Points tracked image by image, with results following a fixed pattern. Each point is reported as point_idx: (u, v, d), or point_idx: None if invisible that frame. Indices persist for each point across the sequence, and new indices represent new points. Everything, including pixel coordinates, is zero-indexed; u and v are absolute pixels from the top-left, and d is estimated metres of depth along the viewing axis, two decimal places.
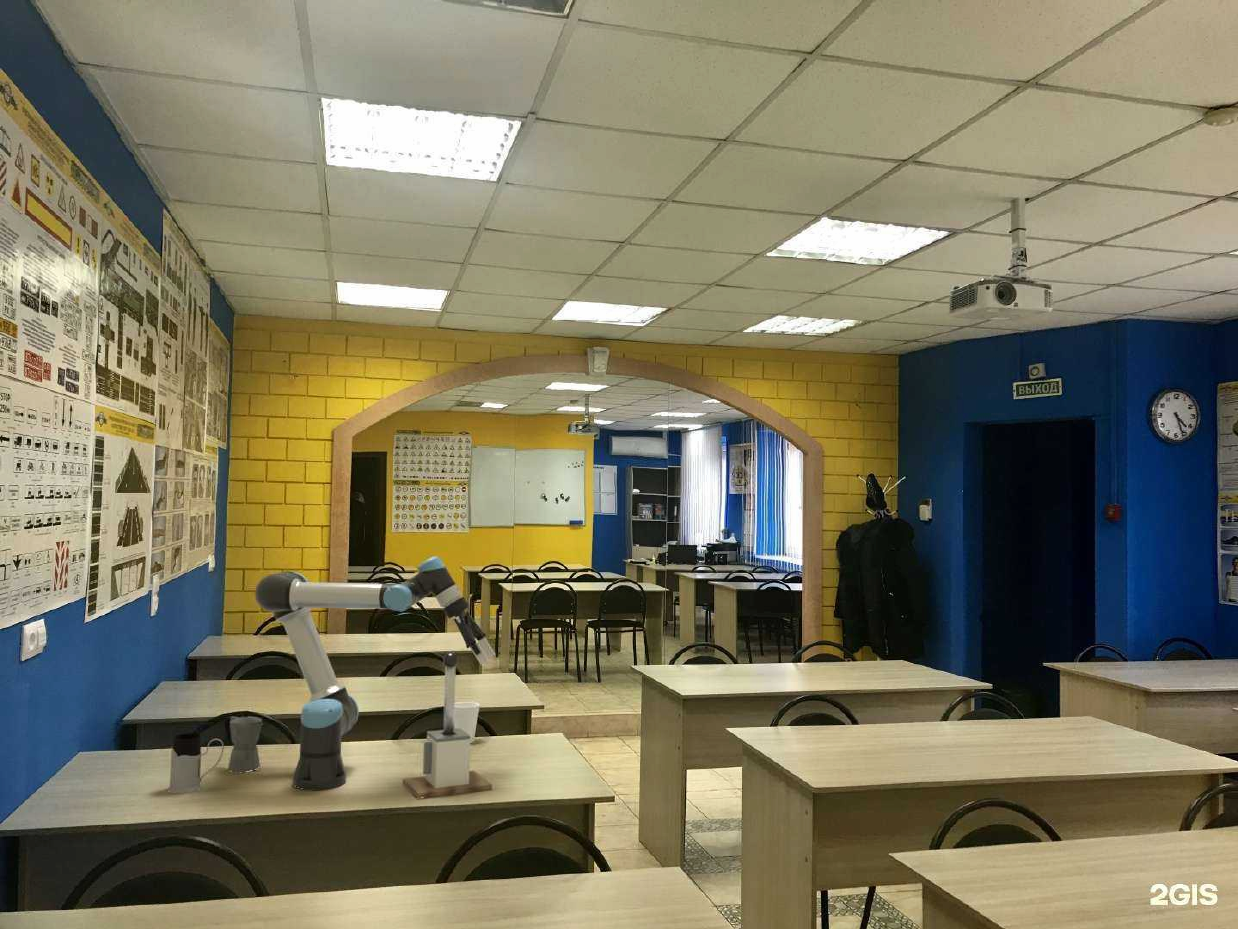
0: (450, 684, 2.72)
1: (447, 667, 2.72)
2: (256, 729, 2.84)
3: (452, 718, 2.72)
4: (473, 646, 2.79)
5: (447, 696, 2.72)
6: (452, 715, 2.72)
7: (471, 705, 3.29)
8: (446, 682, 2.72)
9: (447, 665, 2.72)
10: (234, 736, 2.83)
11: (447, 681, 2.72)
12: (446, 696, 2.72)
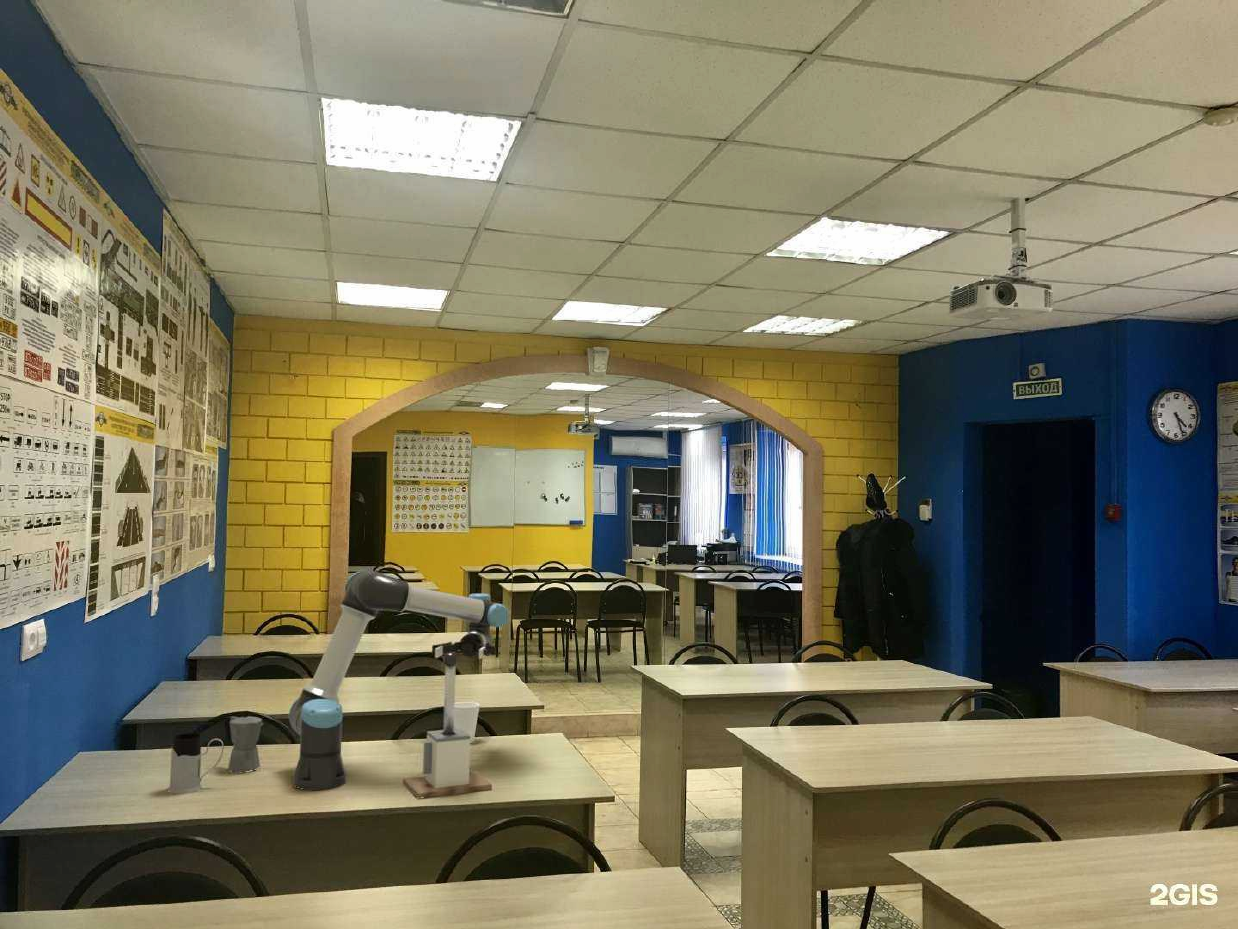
0: (450, 684, 2.72)
1: (447, 667, 2.72)
2: (256, 729, 2.84)
3: (452, 718, 2.72)
4: (488, 651, 2.89)
5: (447, 696, 2.72)
6: (452, 715, 2.72)
7: (471, 705, 3.29)
8: (446, 682, 2.72)
9: (447, 665, 2.72)
10: (234, 736, 2.83)
11: (447, 681, 2.72)
12: (446, 696, 2.72)
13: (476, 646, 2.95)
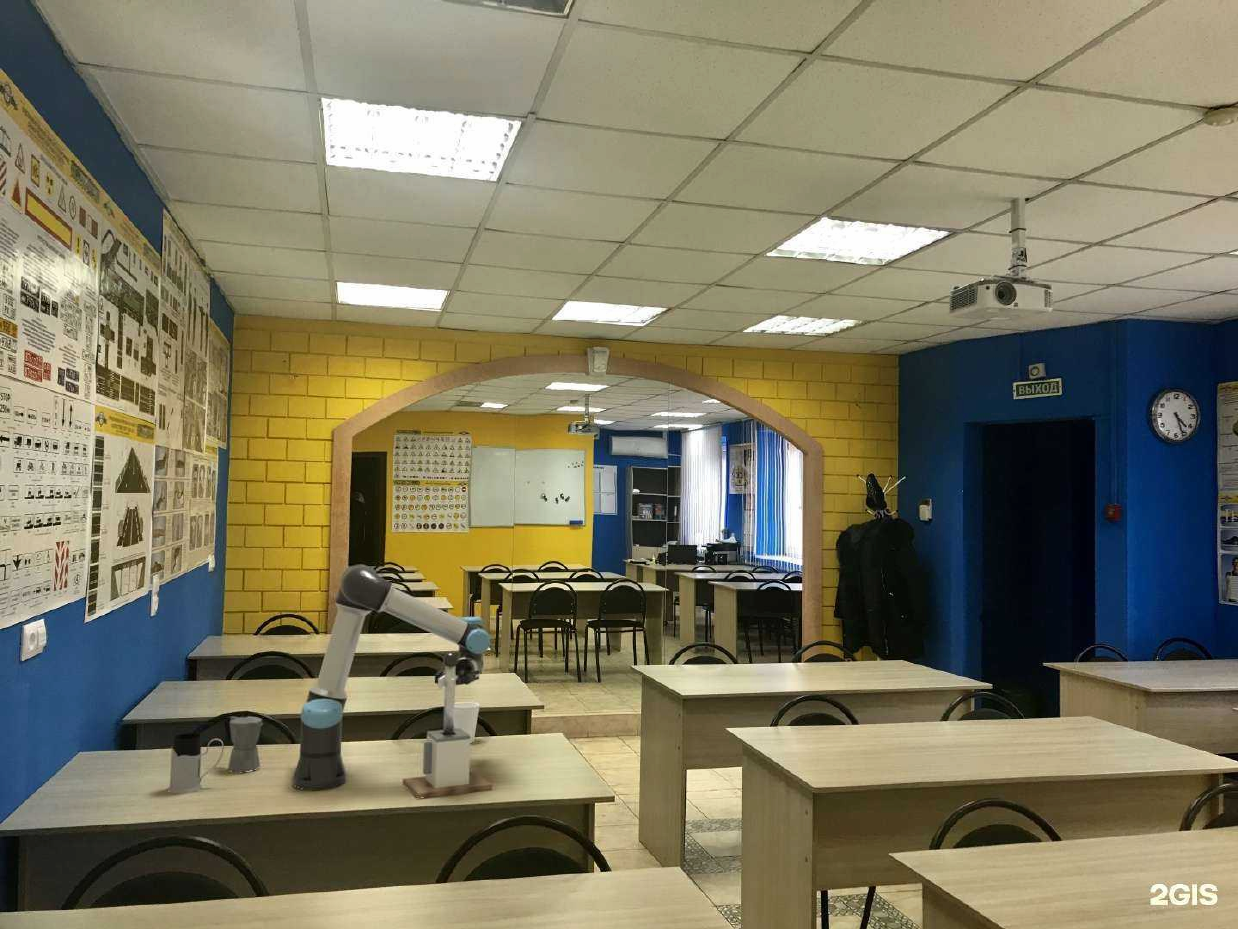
0: (450, 684, 2.72)
1: (447, 667, 2.72)
2: (256, 729, 2.84)
3: (452, 718, 2.72)
4: (461, 680, 2.74)
5: (447, 696, 2.72)
6: (452, 715, 2.72)
7: (471, 705, 3.29)
8: (446, 682, 2.72)
9: (447, 665, 2.72)
10: (234, 736, 2.83)
11: (447, 681, 2.72)
12: (446, 696, 2.72)
13: (460, 674, 2.81)
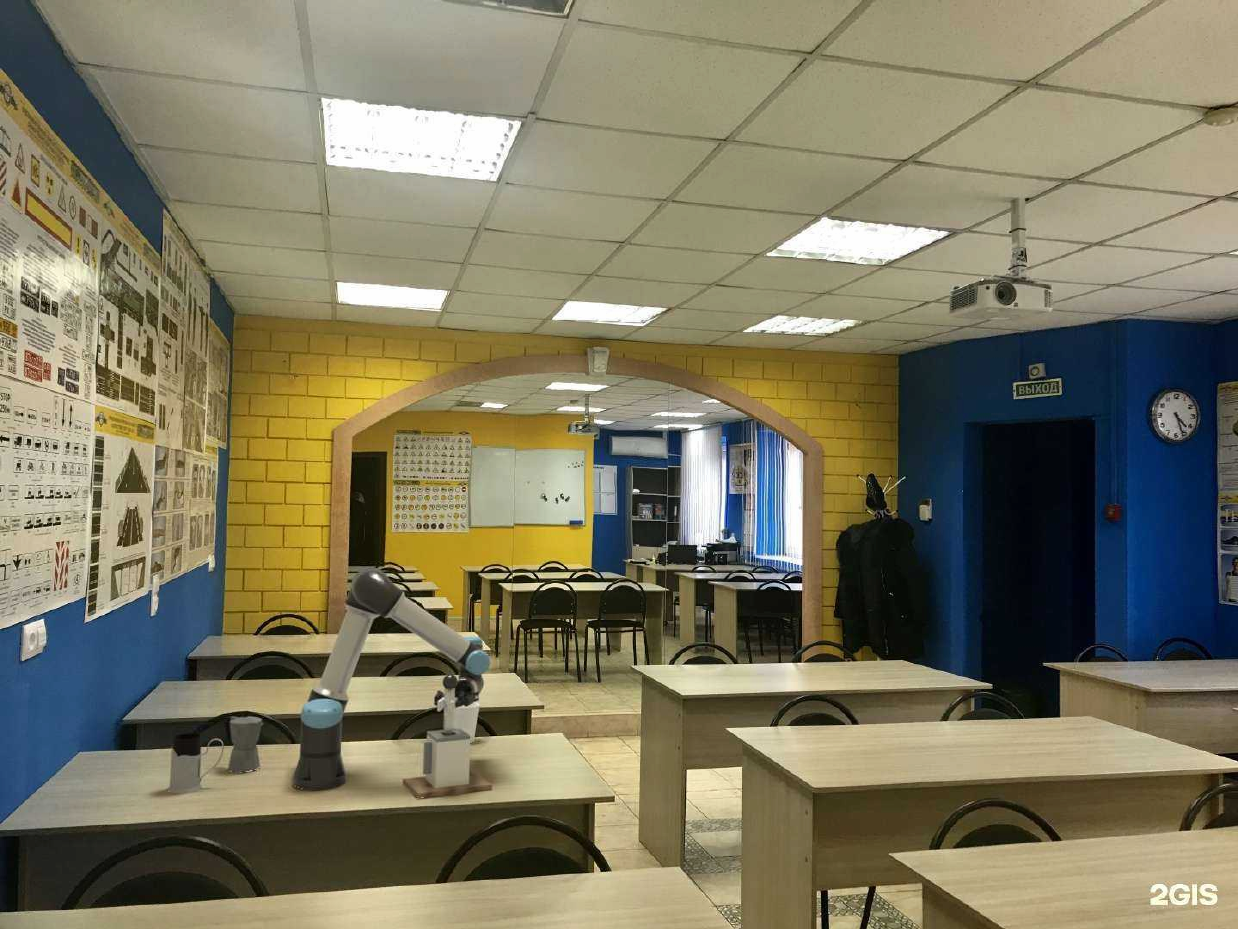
0: (449, 706, 2.71)
1: (446, 689, 2.72)
2: (256, 729, 2.84)
3: None
4: (461, 702, 2.73)
5: (447, 718, 2.71)
6: None
7: (471, 705, 3.29)
8: (445, 704, 2.72)
9: (446, 687, 2.72)
10: (234, 736, 2.83)
11: (447, 703, 2.71)
12: (445, 718, 2.71)
13: None
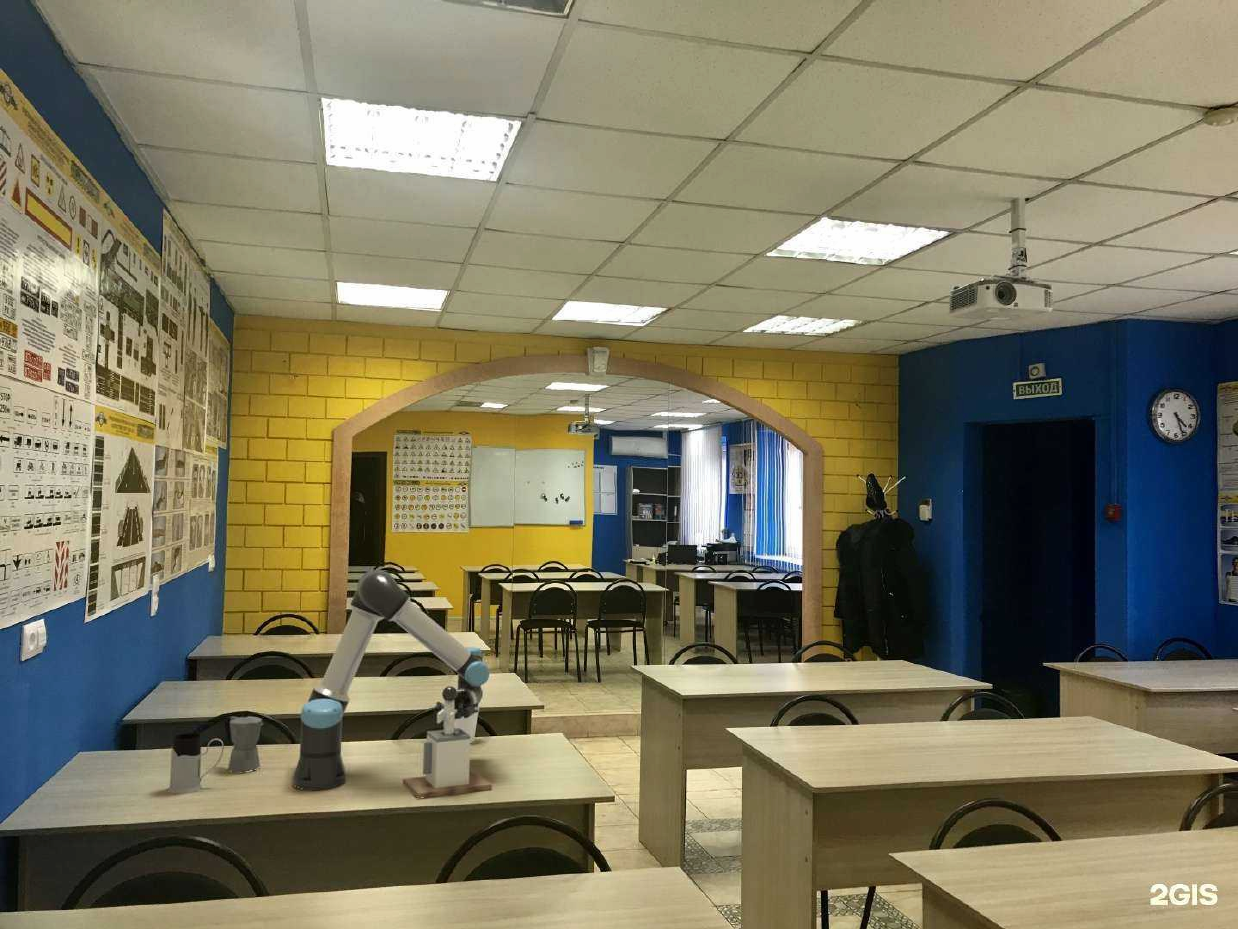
0: (449, 718, 2.71)
1: (446, 701, 2.72)
2: (256, 729, 2.84)
3: None
4: (460, 714, 2.73)
5: (446, 730, 2.71)
6: None
7: None
8: (445, 716, 2.71)
9: (446, 699, 2.71)
10: (234, 736, 2.83)
11: (446, 715, 2.71)
12: (445, 730, 2.71)
13: (459, 707, 2.80)
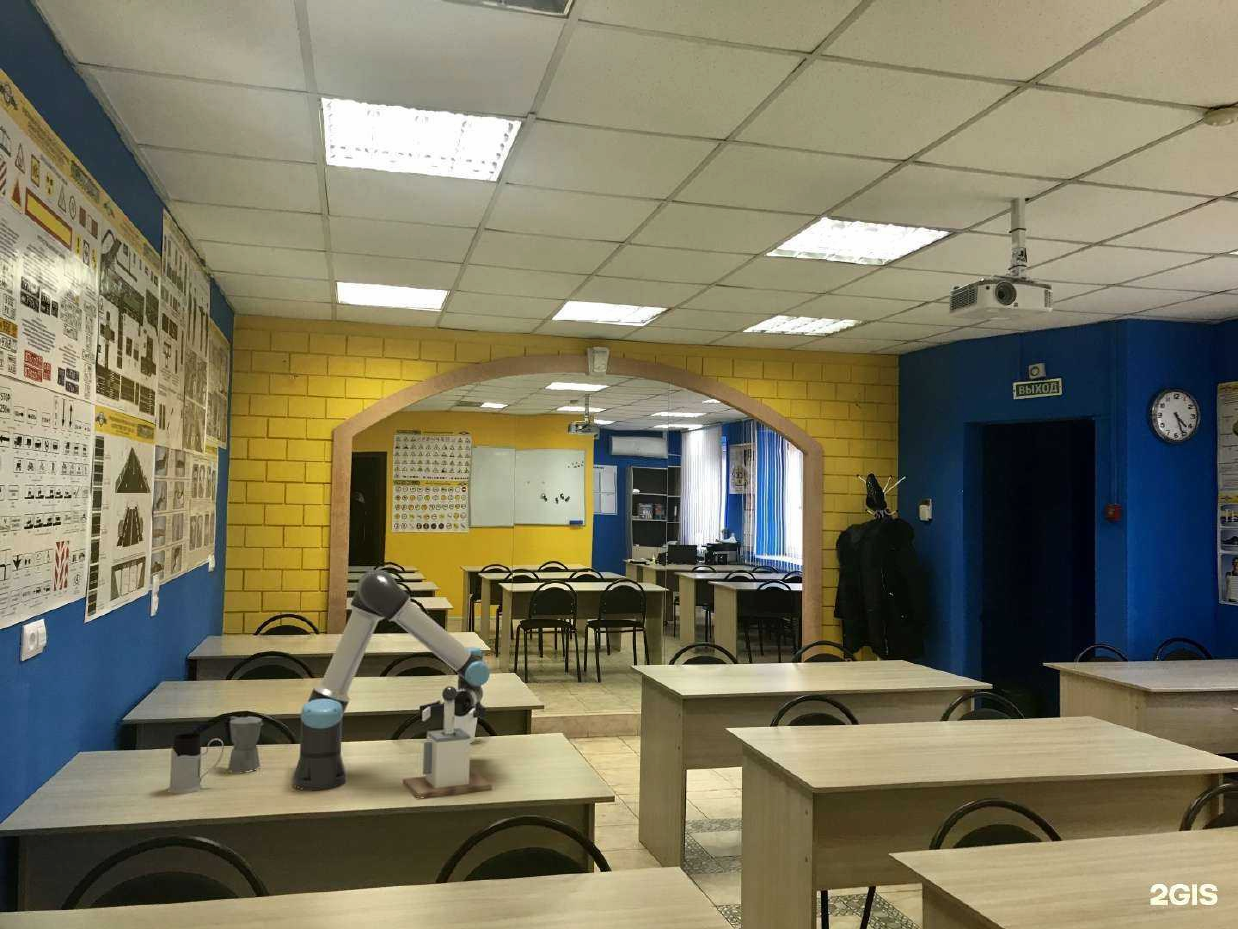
0: (449, 718, 2.71)
1: (446, 701, 2.72)
2: (256, 729, 2.84)
3: None
4: (478, 713, 2.75)
5: (446, 730, 2.71)
6: None
7: None
8: (445, 716, 2.71)
9: (446, 699, 2.71)
10: (234, 736, 2.83)
11: (446, 715, 2.71)
12: (445, 730, 2.71)
13: (466, 706, 2.81)
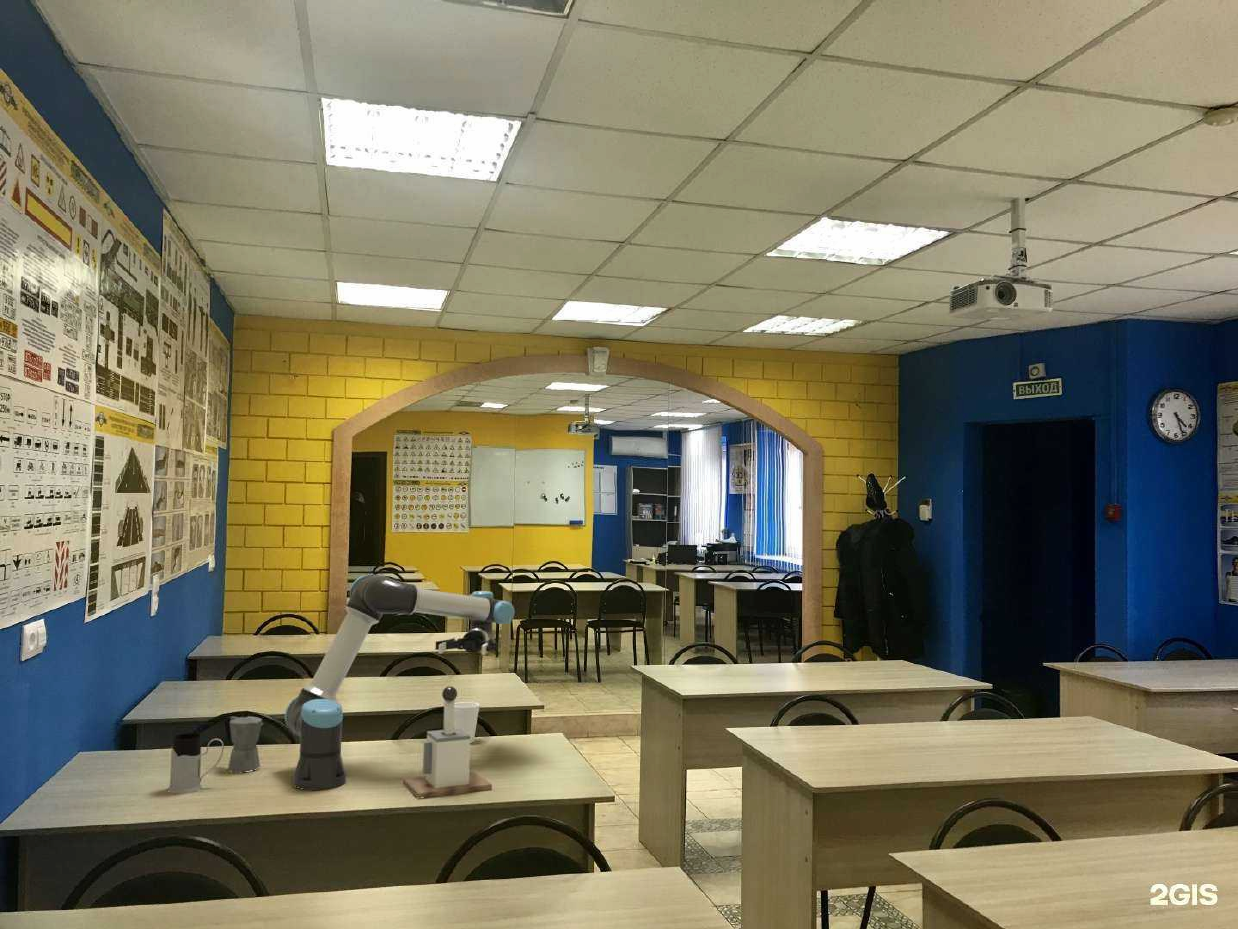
0: (449, 718, 2.71)
1: (446, 701, 2.72)
2: (256, 729, 2.84)
3: None
4: (491, 647, 2.94)
5: (446, 730, 2.71)
6: None
7: (471, 705, 3.29)
8: (445, 716, 2.71)
9: (446, 699, 2.71)
10: (234, 736, 2.83)
11: (446, 715, 2.71)
12: (445, 730, 2.71)
13: (479, 642, 2.99)
